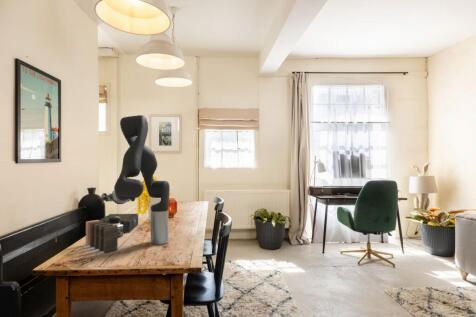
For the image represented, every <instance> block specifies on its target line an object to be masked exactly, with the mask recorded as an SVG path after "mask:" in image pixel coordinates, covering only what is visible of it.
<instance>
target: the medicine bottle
mask: <svg viewBox="0 0 476 317" xmlns="http://www.w3.org/2000/svg"><path fill="white" fill-rule="evenodd" d="M109 224H113V226H114V225H117V226H118V239H120V238H121V237H124V233H123V225H120V217H110V218H109Z"/></svg>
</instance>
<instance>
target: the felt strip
mask: <svg viewBox="0 0 476 317" xmlns="http://www.w3.org/2000/svg"><path fill="white" fill-rule="evenodd" d="M80 246H81V247H83V248H85V249H88V250H89V251H92V252H94V253H96V254H99V255H101V256H105V255H109V254H113V253H117V252H122V251H123V249H121V248H118V250H117V251H114V252H109V253H104V251H99V249H94V247H92V248H91V247H90V245H89V246H87V245H86V243H85V244H82V245H80Z"/></svg>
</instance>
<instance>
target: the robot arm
mask: <svg viewBox="0 0 476 317" xmlns="http://www.w3.org/2000/svg"><path fill="white" fill-rule="evenodd" d="M119 126H120V130H121V132H122V135H123V136H124V138H125V141H126V142H127V144H128V145H129V147H128V148H127V150H126V151H125V153H124V155H123V159H122V165H121V171H120V173H119V176H118V178H117V180H116V181H115V184H114V186H113V191H112V193H109V194H107V193H104V192H103V193H102V194H100V195H101V196H100V198H101V199H100V201H102V202H103V201H105V202H106V203H108V202H112V203H113V202H114V203H115V204H117V205H124V204H126V203H128V202H130V201H131V202H132V203H133V202H135V201H136V199H138V198H139V197H140V196H142V194H143V192H144V191H145V190H144V187H145V188H146V192H147V194H148V196H149V197H151V198H153V199H154V198H155V199H160V200H159V202H157V203H154V204H152V205H151V206H150V244H151V245H164V244H168V243H169V235H170V234H169V230H170V229H169V224H170V223H169V207H170V206H169V205H170V191H171V189H170V183H169V181H167V180H155V179H154V174H155V172H156V170H157V168H158V161H157V158H156V155H155V153H154V151H153V150H152V149H151V148H149V147H148V146H147V145H146V141H147V137H148V132H149V122H148V120H147V116H145V115H139V114H138V115H137V114H136V115H130V116H124V117H121V118H120V121H119ZM140 173H141V175H142V178H143V181H144V183H143V182H142V181H141V180H140V179H134V178H135V177H136V178H137V176H139V175H140ZM144 185H145V186H144Z"/></svg>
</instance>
